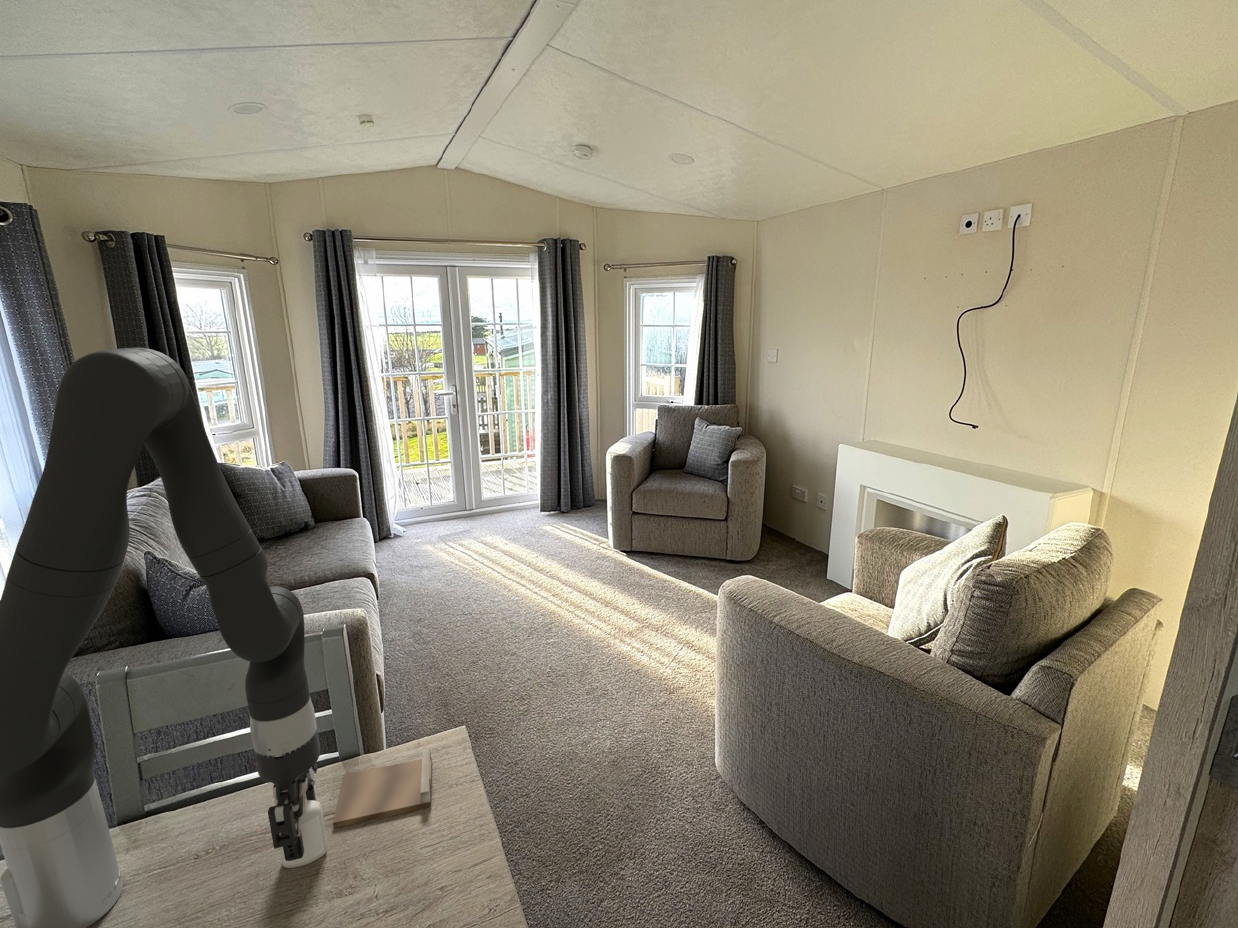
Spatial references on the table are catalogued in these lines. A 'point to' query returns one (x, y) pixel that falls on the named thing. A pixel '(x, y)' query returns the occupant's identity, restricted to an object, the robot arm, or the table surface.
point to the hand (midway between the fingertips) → (302, 832)
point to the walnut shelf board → (384, 791)
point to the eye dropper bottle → (310, 835)
